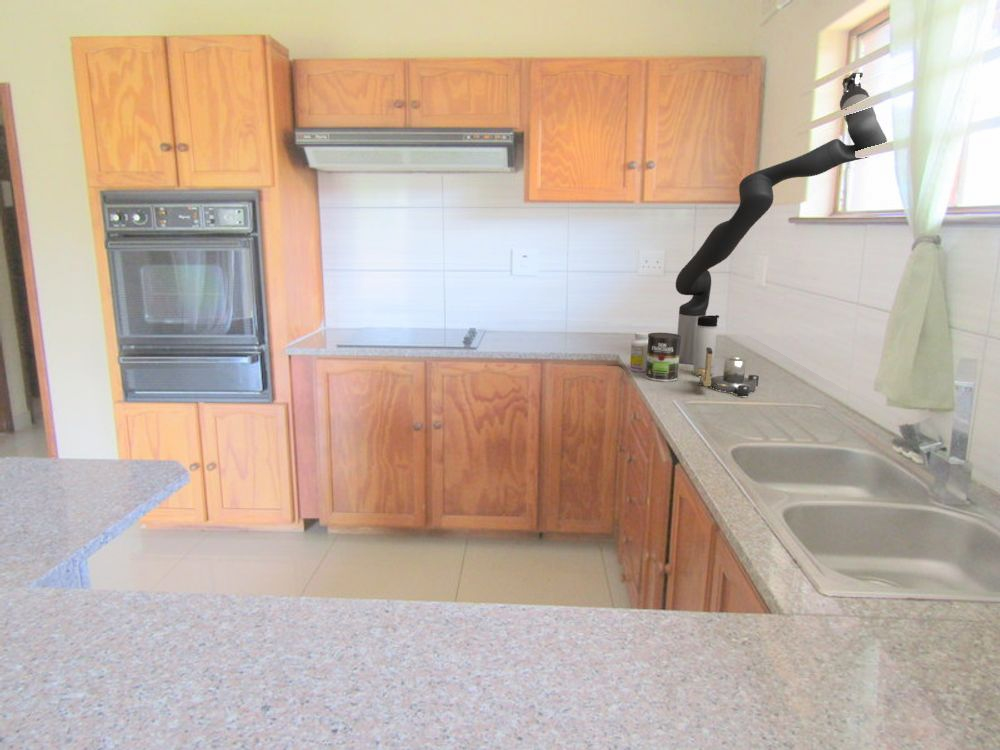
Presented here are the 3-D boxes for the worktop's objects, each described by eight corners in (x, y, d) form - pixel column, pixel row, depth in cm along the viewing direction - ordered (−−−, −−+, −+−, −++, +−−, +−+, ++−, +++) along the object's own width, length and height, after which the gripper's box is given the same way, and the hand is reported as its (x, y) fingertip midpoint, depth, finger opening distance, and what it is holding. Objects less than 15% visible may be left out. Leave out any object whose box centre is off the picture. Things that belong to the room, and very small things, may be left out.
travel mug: (714, 378, 215) (720, 316, 210) (693, 376, 216) (698, 316, 212) (712, 373, 221) (718, 314, 216) (692, 372, 222) (697, 313, 217)
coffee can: (676, 383, 207) (679, 338, 204) (643, 380, 211) (646, 336, 208) (679, 376, 217) (682, 333, 214) (647, 373, 220) (650, 331, 217)
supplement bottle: (645, 368, 228) (647, 331, 225) (653, 372, 222) (655, 334, 219) (627, 368, 227) (629, 331, 224) (634, 372, 220) (636, 334, 217)
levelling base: (706, 378, 214) (709, 348, 212) (760, 385, 206) (763, 354, 204) (691, 390, 199) (694, 358, 197) (748, 398, 191) (752, 365, 188)
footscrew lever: (695, 373, 208) (698, 340, 206) (710, 374, 207) (713, 341, 205) (699, 385, 192) (702, 350, 190) (715, 386, 191) (718, 351, 189)
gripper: (849, 84, 184) (839, 58, 196) (836, 129, 194) (827, 102, 205) (878, 84, 183) (866, 58, 194) (863, 129, 192) (853, 102, 204)
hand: (846, 80), depth 200 cm, fingers closed
